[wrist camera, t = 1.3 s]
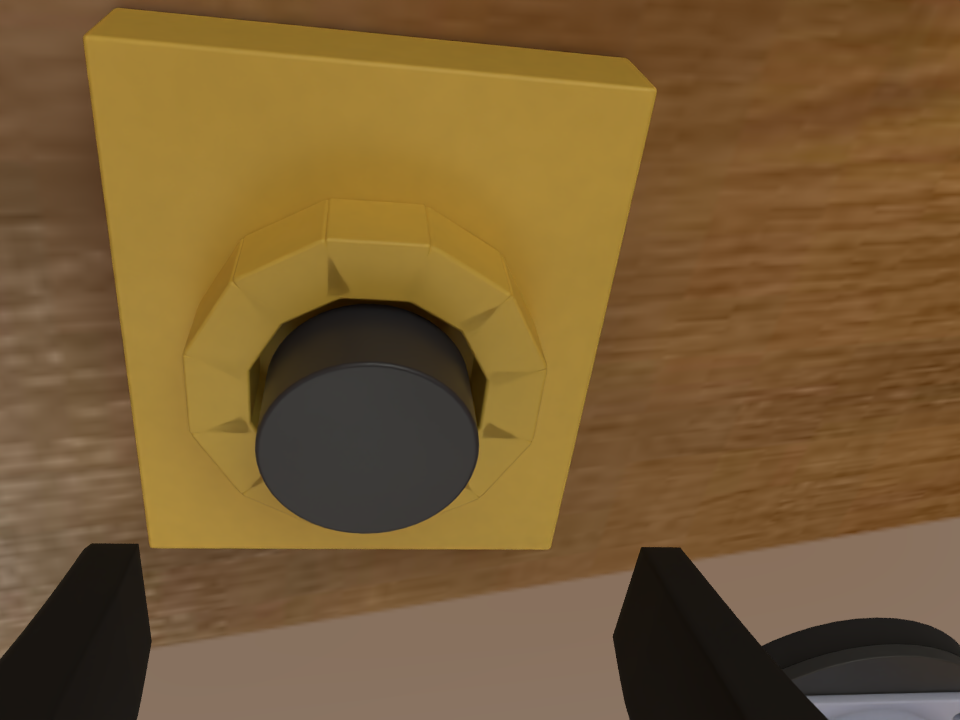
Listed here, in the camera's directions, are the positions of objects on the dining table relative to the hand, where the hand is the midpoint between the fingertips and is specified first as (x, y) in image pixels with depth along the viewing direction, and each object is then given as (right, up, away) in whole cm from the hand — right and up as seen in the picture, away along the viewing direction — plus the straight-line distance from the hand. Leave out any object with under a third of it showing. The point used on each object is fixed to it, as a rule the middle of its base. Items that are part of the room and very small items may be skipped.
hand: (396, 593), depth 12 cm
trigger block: (-1, +5, +7) cm, 9 cm away
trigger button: (-1, +3, +5) cm, 5 cm away
